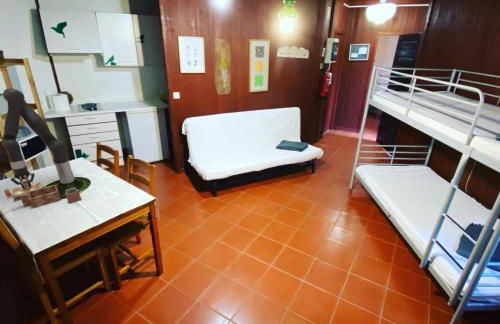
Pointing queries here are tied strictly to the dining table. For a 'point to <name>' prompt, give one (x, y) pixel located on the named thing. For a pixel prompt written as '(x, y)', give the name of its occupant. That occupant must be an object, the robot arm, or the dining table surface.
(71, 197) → the lighter
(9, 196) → the wooden block with peg
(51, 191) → the toolbox
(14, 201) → the mat
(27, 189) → the lid
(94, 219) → the dining table surface
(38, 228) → the dining table surface
